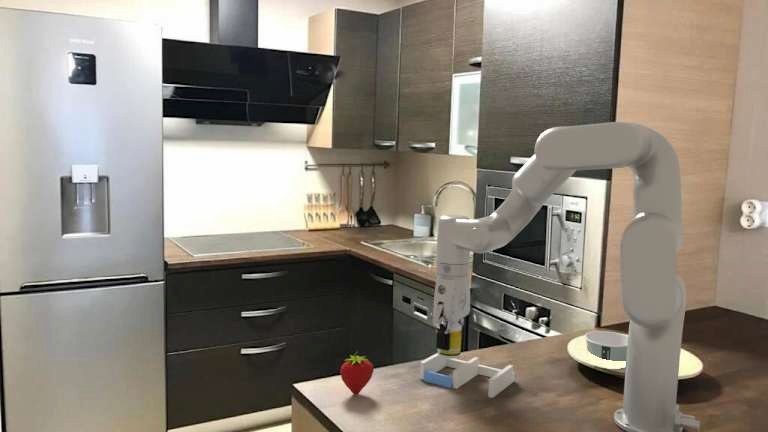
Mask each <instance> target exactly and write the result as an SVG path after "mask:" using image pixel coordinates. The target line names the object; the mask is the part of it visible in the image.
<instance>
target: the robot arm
mask: <svg viewBox="0 0 768 432" xmlns="http://www.w3.org/2000/svg"><path fill="white" fill-rule="evenodd" d="M674 148H675V147H673V145H672V143H671V142H670V141H669V140H668V139H667V138H666V137H665V136H664V135H663V134H661V133H659V132H658V131H656V130H654V129H652V128H650V127H648V126H645V125H642V124H640V123H635V122H630V121H629V122H627V121H626V122H624V121H613V122H611V121H610V122H601V123H590V124H581V125H569V126H568V125H567V126H566V125H565V126H553V127H550V128H548V129H546V130H544V132H542V133H541V134H540V135H539V136H538V138H537V139H536V142H535V145H534V150H533V151H534V154H533V155H532V156H531V157H530V158H529V159H528V160H527V161H526V162H525V164H523V166H521V168H519V169H518V171H516V173H515V174H514V175H513V177H512V179H511V180H512V181H511V182H512V183H511V185H512V187H511V190H510V192H509V194H508V196H507V198H506V199H504V201H503V202H502V203H501V204H500V206H499V207H498V208H497V209H496V210H494V212H492V213H491V215H487V216H484V217H481V218H472V219H471V218H469V217H468V216H465V215H460V214H445V215H442V216H440V217H439V218H438V221H437V239H436V240H437V241H436V244H437V245H436V263H435V266H436V268H435V275H436V281H435V287H434V296H433V297H434V298H433V318H432V324H433V326H434V327H435V332H436V344H435V345H436V346H435V347H436V350H437V349H442V350H446V351H448V350H450V333H449V328H450V323H451V322H454V321H457V320H459V322H458V323H459V324H460V325H461V326H462V334H461V344H462V343H463V336H464V326H465V318H466V317H467V316H468V315H469V314H470V313H471V312H470V311H471V282H470V260H471V259H470V258H471V253H476V254H486V253H489V252H492V251H495V250H497V249H500V248H502V247H505V246H506V245H508V244H509V243H510V242H511V241H512V240H514V239H515V238H516V236H517V235H518V234H519V233H521V231H522V230H523V229H525V227H526V226H528V225H529V223H530V222H531V221H532V220H533V218H534V217H535V216H536V215H537V213H538V212H540V210H541V208H542V207H543V206H544V204H545V203H546V202H547V201H548V199H550V198H551V197H552V196H553V194H555V193H556V192H557V190H558V189H559V188H561V186H563V185H564V184H565V183H566V182H567V181H568V180H569V178H571V177H572V175H574V174H575V172H576V171H589V170H590V171H591V170H608V169H609V170H610V169H623V168H630V170H631V172H632V175H633V181H632V182H633V184H632V205H633V206H632V220H631V221H630V222H629V223H628V224H627V225H626V226H625V228H624V230H623V232H622V235H621V237H620V238H621V239H620V245H619V262H620V263H619V264H620V274H619V275H620V279H619V280H620V302H621V306H622V310H623V312H624V313H625V315H626V317H627V318H628V319H629V325H628V333H627V334H628V335H627V336H628V345H627V358H626V368H625V375H624V385H623V386H624V387H623V401H622V407H621V408H619V409H616V410H615V411H614V413H613V422H614V423H615V425H616V426H618V428H621V429H622V430H623V431H625V432H684V431H683V430H684V428H685V429H688V430H691V431H695V432H699V431H700V426H701V421H700V420H696V416H695V415H690V414H685V413H683V412H682V411H680V405H679V404H677V395H678V394H677V393H678V384H679V370H680V359H681V358H680V357H681V353H682V352H681V349H682V339H683V329H684V321H685V313H686V308H687V307H686V306H687V297H688V296H687V295H688V294H687V289H686V288H687V287H686V284H685V282H684V280H683V278H682V277H681V276H680V275H679V274H678V265H677V264H678V253H679V252H680V251H681V249H682V246H683V242H684V233H683V232H684V231H683V207H682V205H683V204H682V203H683V200H682V182H681V181H682V180H681V167H680V166H681V165H680V162H679V157H678V155H677V152H676V150H675V149H674ZM442 316H444V317H446V319H442ZM442 322H446V326H444V324H442Z"/></svg>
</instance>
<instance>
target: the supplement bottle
mask: <svg viewBox="0 0 768 432" xmlns="http://www.w3.org/2000/svg"><path fill="white" fill-rule="evenodd" d="M442 319H446V317H444V316H442ZM458 322H459V320H457V321H454V322H451V323H450V328H449V333H450V350H448V351H446V350H442V349H437V348H436V350H437V351H436V353H437V354H438V355H439V356H440V357H443V358H447V359H453V358H454V359H457V358H460V357H461V353H462V351H461V349H462V343H461V334H462V327H463V326H461V325H460V324H459V323H458ZM442 324H444V326H446V322H443V321H442Z"/></svg>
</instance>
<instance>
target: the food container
mask: <svg viewBox="0 0 768 432" xmlns="http://www.w3.org/2000/svg"><path fill="white" fill-rule="evenodd" d="M583 337H584V339H585V342H586V349H587V350H588V351H589V352H590V353H591V354H593V355H595V356H597V357H599V358H602V359H606V360H612V361H626V358H627V345H628V335H626V334H624V333H623V334H622V333H619V332H614V331H604V330H597V331H589V332H587V333H585V334H584V336H583ZM588 351H587V352H588Z"/></svg>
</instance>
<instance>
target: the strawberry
mask: <svg viewBox="0 0 768 432" xmlns="http://www.w3.org/2000/svg"><path fill="white" fill-rule="evenodd" d="M357 353H358V350H357V351H356V352H355V353H354V354H353V355H351V354H349V357H350V358H346V359H344V361H345V362H344V363H343V364H342V365H341V367H340V371H339V374H340V377H341V380H342V382H343V383H344V385H345V386H346V387H347V388H348V390H349V391H350V392H351V393H352V394H353V395H358V394H360V392H362V390H363V389H364V388H365V386H367V384H368V383H369V382H370V380H371V379H372V377H373V374H374V371H375V369H374V365H373V363H371V361H369V359H368V358H367V355H365V356H359V355H356V354H357Z"/></svg>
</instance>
